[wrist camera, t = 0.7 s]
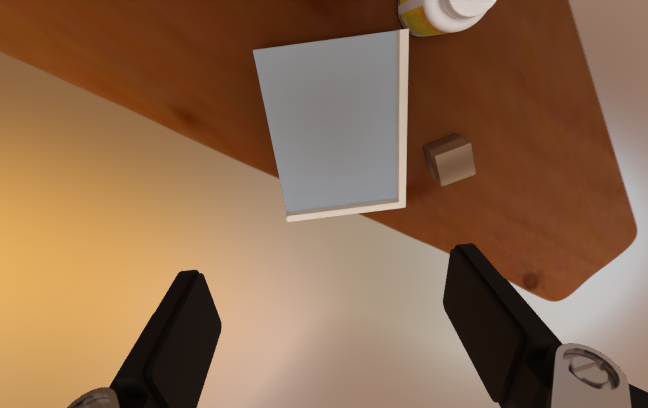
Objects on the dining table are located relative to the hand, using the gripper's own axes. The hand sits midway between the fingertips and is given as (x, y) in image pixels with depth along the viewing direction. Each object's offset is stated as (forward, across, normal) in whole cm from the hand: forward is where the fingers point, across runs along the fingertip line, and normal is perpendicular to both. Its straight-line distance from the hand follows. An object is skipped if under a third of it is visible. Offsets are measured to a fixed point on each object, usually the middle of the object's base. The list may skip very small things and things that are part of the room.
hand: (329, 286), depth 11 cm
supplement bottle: (+26, -12, -11) cm, 31 cm away
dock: (+26, -2, 0) cm, 26 cm away
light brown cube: (+26, -15, +5) cm, 31 cm away
